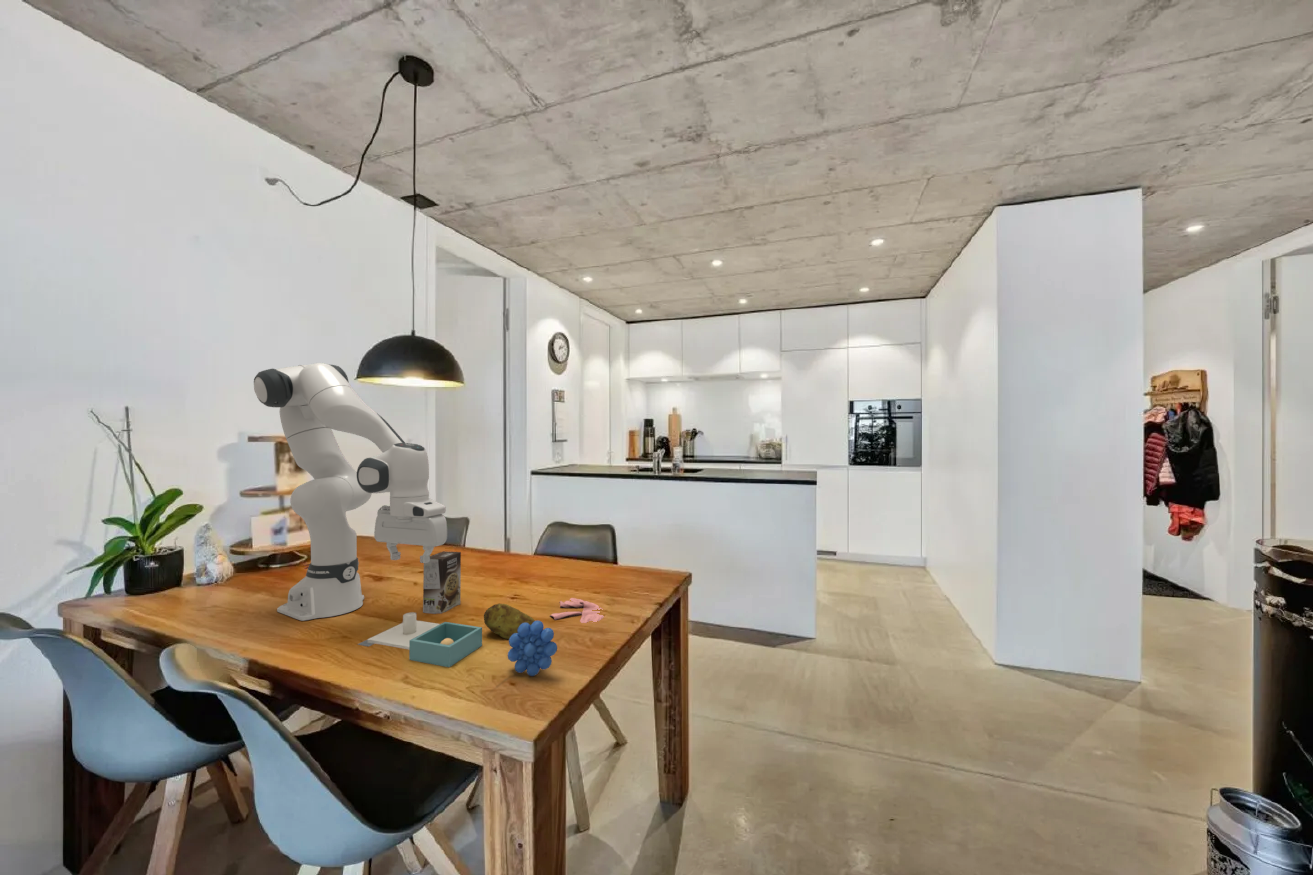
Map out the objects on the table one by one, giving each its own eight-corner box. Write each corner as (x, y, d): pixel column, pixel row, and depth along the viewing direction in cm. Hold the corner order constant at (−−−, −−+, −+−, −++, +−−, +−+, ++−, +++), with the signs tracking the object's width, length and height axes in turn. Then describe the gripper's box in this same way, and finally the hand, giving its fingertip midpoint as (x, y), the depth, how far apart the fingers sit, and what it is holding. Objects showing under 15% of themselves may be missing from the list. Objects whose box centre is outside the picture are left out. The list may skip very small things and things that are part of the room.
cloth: (604, 627, 126) (604, 619, 126) (525, 626, 127) (525, 617, 127) (613, 600, 147) (613, 593, 147) (544, 599, 147) (544, 592, 147)
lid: (367, 642, 114) (367, 621, 114) (409, 622, 126) (409, 602, 126) (409, 650, 110) (409, 627, 110) (449, 628, 123) (449, 608, 122)
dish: (409, 662, 105) (409, 640, 105) (444, 641, 116) (444, 621, 116) (449, 669, 102) (449, 647, 102) (482, 647, 112) (482, 627, 112)
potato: (519, 648, 113) (519, 615, 112) (478, 638, 117) (478, 607, 117) (540, 634, 120) (540, 603, 120) (500, 626, 125) (500, 596, 125)
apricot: (436, 654, 108) (436, 640, 108) (446, 648, 111) (446, 635, 111) (447, 656, 107) (447, 642, 107) (457, 650, 110) (457, 636, 110)
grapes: (565, 669, 102) (566, 615, 102) (551, 685, 96) (551, 627, 96) (518, 662, 105) (519, 609, 105) (501, 677, 99) (501, 621, 99)
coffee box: (441, 615, 132) (442, 559, 132) (422, 613, 133) (422, 557, 133) (461, 604, 141) (461, 551, 141) (442, 602, 142) (443, 550, 142)
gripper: (367, 506, 118) (367, 560, 118) (432, 510, 112) (432, 567, 112) (388, 503, 124) (388, 554, 124) (451, 506, 118) (451, 560, 118)
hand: (410, 561), depth 118 cm, fingers open, 8 cm apart
